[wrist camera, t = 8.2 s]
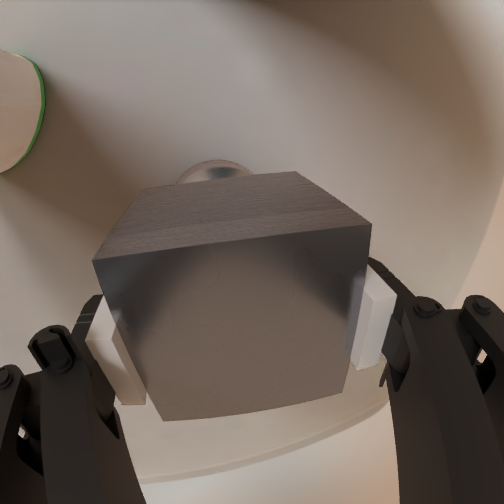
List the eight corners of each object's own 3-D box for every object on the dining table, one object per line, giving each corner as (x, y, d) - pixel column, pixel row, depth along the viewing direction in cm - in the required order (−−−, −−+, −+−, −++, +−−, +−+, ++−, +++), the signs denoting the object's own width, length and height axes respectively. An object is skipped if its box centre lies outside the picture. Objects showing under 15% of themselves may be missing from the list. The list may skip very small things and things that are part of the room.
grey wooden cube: (141, 190, 11) (91, 260, 6) (295, 171, 12) (372, 223, 6) (170, 315, 14) (163, 421, 9) (296, 297, 15) (341, 392, 9)
